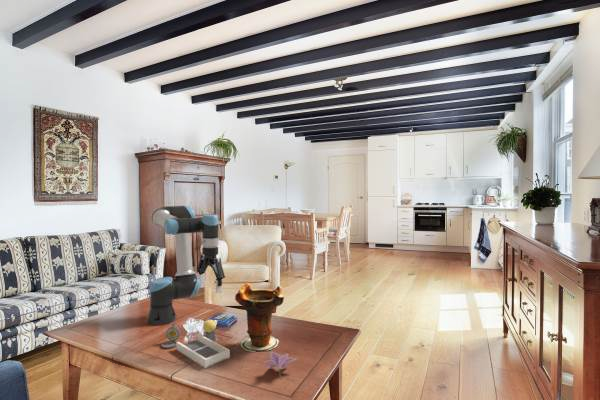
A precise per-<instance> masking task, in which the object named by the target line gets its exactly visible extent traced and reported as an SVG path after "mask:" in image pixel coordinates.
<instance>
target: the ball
mask: <svg viewBox="0 0 600 400" xmlns="http://www.w3.org/2000/svg"><path fill="white" fill-rule="evenodd" d="M216 327H217V325H216V322H215V320H212V319H207V320H205V322H204V323H203V325H202V330H203V332H204V331H205V332H207V333H211V332H213V331H216V330H215V329H216Z"/></svg>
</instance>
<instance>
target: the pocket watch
mask: <svg viewBox="0 0 600 400" xmlns="http://www.w3.org/2000/svg"><path fill="white" fill-rule="evenodd" d="M176 324H177V323H176V322H174V323H173V322H170V325H171V326H170V327H169V328H167V329H166V332H165V334H166V335H165V336H166V338H167V339H168V340H167V341H164V342H163V343H162V344H161V347H162V348H164V349H172V348H174V347H176V342H177V340H178V339H179V338H180V336H181V331H180V329H179V328H178V327H177V326H175V325H176Z"/></svg>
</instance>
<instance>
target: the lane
mask: <svg viewBox="0 0 600 400" xmlns="http://www.w3.org/2000/svg"><path fill="white" fill-rule="evenodd" d="M175 347H176V351H177V352H179V353H181V354H182V355H183V356H185V357H187V358H188V359H190V360H191V361H193V362H195V363H197V364H198V365H199V366H201V367H203V368H204V369H208V368H210V367H212V366H215V365H216V364H218V363H221V362H224V361H226V360H228V359H230V358H231V356H230V355H231V354H230V353H231V352H230V351H231V350H230V349H229V348H227V347H225V346H223V345H221V344H219V343H217V342H216V341H215V340H213V341H212V340H210V339H208V338H206V337H204V335H202V334H200V333H199V334H197V341H194V342H192V343H191V342H190V343H189V344H186V345H185V344H183V343H181V342H180V341H176V346H175Z"/></svg>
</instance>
